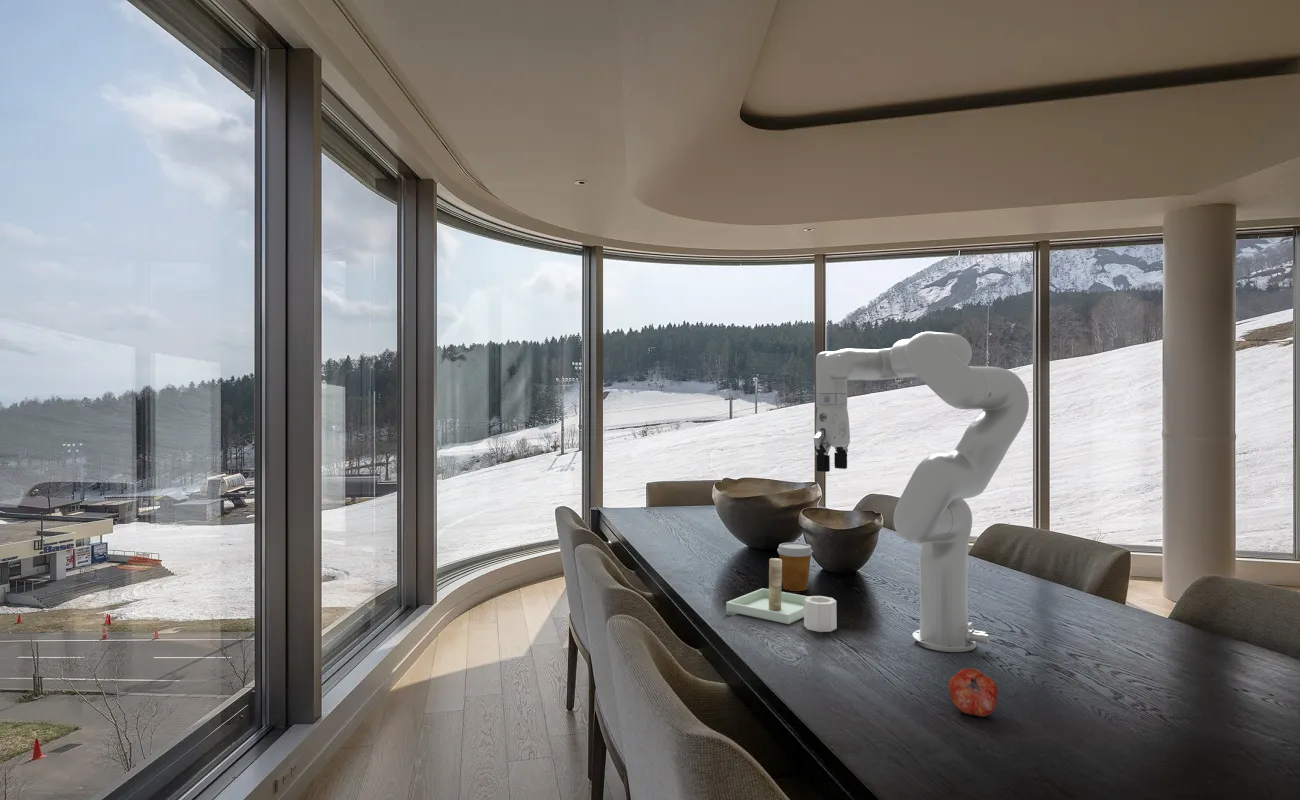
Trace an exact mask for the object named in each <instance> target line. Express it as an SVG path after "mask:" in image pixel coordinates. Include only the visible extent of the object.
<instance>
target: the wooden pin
mask: <svg viewBox="0 0 1300 800" xmlns="http://www.w3.org/2000/svg"><path fill="white" fill-rule="evenodd" d="M768 561H769V562H768V564H769V565H768V566H769V569H768V589H769V609H770V610H773V611H779V610H781V592H782V589H783V588H782V587H783V580H782V559H780V558H778V557H777V558H776V557H775V558H773V557H771V558H769V560H768Z"/></svg>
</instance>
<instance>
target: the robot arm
mask: <svg viewBox="0 0 1300 800" xmlns="http://www.w3.org/2000/svg"><path fill="white" fill-rule="evenodd" d="M972 356H973V350H972V346H971V344H970V342H969V341H968V340H967V339H966V338H965V337H963V336H962V335H960V334H957V333H953V332H952V333H951V332H936V331H924V332H923V331H922V332H920V333H917V334H915V335H914V336H912V337H911V338H904V339H900V340H898V341H896V342H895V343H894V344H893V345H892V346H891V347H888V348H879V349H871V348H870V349H868V348H867V349H866V348H842V349H839V350H833V351H829V350H828V351H821V352H819V353H817V354H816V356H815V391H816V393H815V396H816V398H815V399H816V400H815V402H816V403H815V404H816V405H815V406H816V408H817V411H816V419H815V421H816V422H815V436H813V442H814V450H815V456H816V472H824V473H825V472H826V473H829V472H830V471H831V470H830V469H831V463H830V461H831V459H830V454H829V453H830V449H831V447H833V448H834V449H835V452H834V454H833V456H834V469H839V470H840V469H841V470H842V469H843V470H846V469H848V453H849V452H848V451H849V450H848V446H849V445H850V442H851V436H850V435H851V434H850V433H851V431H850V419H849V417H850V416H849V412H848V381H880V380H894V379H895V380H896V379H906V378H915V377H918V378H919V379H920V380H921V381H922V382H923V383H924V384H925V385H926V386H928V388H929V389H931V390H932V391H933V393H935V395H937V397H939V398H940V399H941V400H942V401H943V402H944V403H946V404H947V405H949V406H951V407H953V408H955V409H959V410H982V411H981V412H980V414H979V415H978V416H977V417H976V418H975V419H974V420H973V421H972V422H971V423H970V425H969V426H968V427H967V428H966V430H965V431H964V433H963V434H962V435H963V436H962V437H961V439H960V441H959V442H958V443H957V445H956V447H955V448H954V449H953V450H951V451H950V452H941V453H935V454H934V453H933V454H932V455H929V456H927V457H926V458H924V459H923V460H922V461H921V462H919V464H917V466H916V467H915V470H914V471H913V473H912V475H911V477H910V479H909V481H908V482H907V484H906V486H905V488H904V489H903V492H902V494H901V496H900V497H899V499H898V501H897V503H896V506H895V509H894V512H893V526H894V529H895V532H896V533H897V534H898V536H899V537H900V538H902V539H903V540H904V541H906V542H909V543H914V544H921V546H920V547H921V548H920V551H919V561H918V562H919V563H918V564H919V629H917V630H915V631H913V632H912V634H911V636H912V638H913V639H914V640H915V641H914V644H916V645H918V646H921V647H922V648H925V649H929V650H933V651H938V652H946V653H965V652H969V651H973V650H975V648H977V643H978V644H983V645H989V644H990V641H991V640H990V639H991V638H990V635H989V634H988V633H987V632H986V631H981V630H976V629H975V628H973V622H971V621H970V622H969V592H968V591H969V589H968V588H969V587H968V586H969V583H968V582H969V580H968V579H969V577H968V573H969V572H968V571H969V546H970V545H969V544H970V538H971V534H972V533H971V532H972V528H973V514H972V513H973V512H972V511H971V508H970V506H969V504H968V503H967V501H966V500H964V499H971V498H974V497H977V496H979V495H981V494H982V493H983V492H984V490H985V489H986V488H987V486H988V485H989V483H990V482H991V479H992V478H993V476H994V474H995V472H997V469H998V467H999V466H1000V464H1001V462H1002V461H1003V460H1004V458H1005V455H1006V454H1007V451H1008V450H1009V448H1010V447H1011V445H1012V443H1013V442H1014V440H1015V439H1016V438H1017V436H1018V434H1019V433H1020V432H1021V430H1022V428H1023V426H1024V423H1025V422H1026V419H1027V418H1028V414H1029V406H1030V405H1029V404H1030V399H1029V395H1028V394H1029V393H1028V390H1027V388H1026V386H1025V383H1024V382H1023V381H1022V379H1021V378H1020V377H1019V376H1018V375H1017V374H1016V373H1014V372H1013V371H1011V370H1009V369H1006V368H1003V367H998V366H976V365H974V366H973V365H972V366H971V365H969V364H970V362H971V360H972Z"/></svg>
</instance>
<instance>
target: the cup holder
mask: <svg viewBox="0 0 1300 800" xmlns="http://www.w3.org/2000/svg"><path fill="white" fill-rule="evenodd" d="M837 619H838V618H837V600H836V599H834V598H833V597H829V596H823V595H811V596H810V595H809V596H808V597H807V598H804V617H803V626H804V628H806V630H808V631H814V632H819V633H823V632H827V633H828V632H829V633H830V632H833V631H835V630H837V628H838V627H837Z"/></svg>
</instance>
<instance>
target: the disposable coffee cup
mask: <svg viewBox="0 0 1300 800" xmlns="http://www.w3.org/2000/svg"><path fill="white" fill-rule="evenodd" d="M776 551H777V553H778V555H779V559H782V587H783V588H782V589H783V590H784V589H785V590H784V591H786V590H789V591H804V590H806V589H807V590H808V584H809V583H808V582H809V576H810V575H809V574H810V567H811V566H810V565H811V556H812V555H813V552H814V551H813V549H812V545H811V544H809V543H805V542H803V543H802V542H783V543H780V544H778V548H777V550H776ZM789 591H788V592H789ZM804 592H805V591H804Z"/></svg>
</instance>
